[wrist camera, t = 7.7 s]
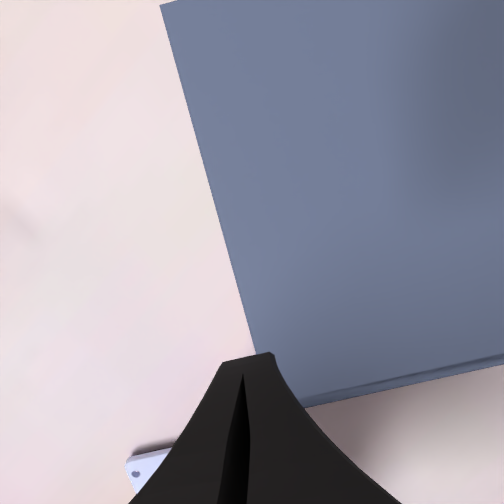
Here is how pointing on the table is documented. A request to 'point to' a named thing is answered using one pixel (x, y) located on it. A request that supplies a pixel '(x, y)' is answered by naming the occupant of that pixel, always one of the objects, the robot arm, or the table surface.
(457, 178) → the book
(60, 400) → the table surface
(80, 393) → the table surface
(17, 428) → the table surface
